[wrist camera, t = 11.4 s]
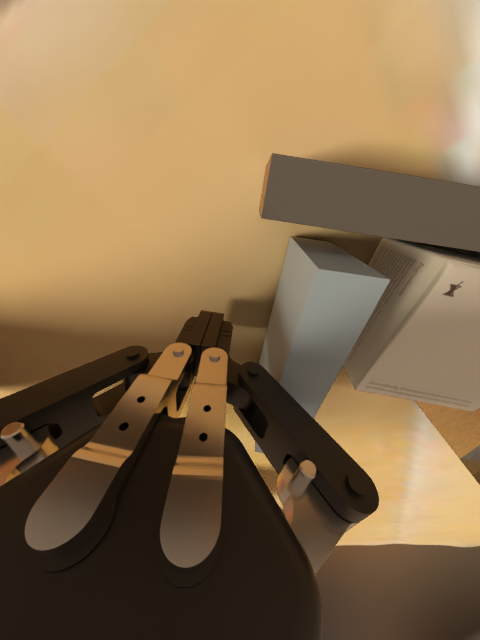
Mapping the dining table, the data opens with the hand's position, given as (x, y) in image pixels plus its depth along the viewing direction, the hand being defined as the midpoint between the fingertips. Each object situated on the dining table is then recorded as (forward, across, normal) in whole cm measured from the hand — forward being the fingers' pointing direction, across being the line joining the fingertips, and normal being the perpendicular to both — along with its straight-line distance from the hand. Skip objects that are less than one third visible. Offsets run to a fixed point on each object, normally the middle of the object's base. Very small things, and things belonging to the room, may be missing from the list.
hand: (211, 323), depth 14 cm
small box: (+2, -13, -2) cm, 13 cm away
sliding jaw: (+1, -5, 0) cm, 6 cm away
